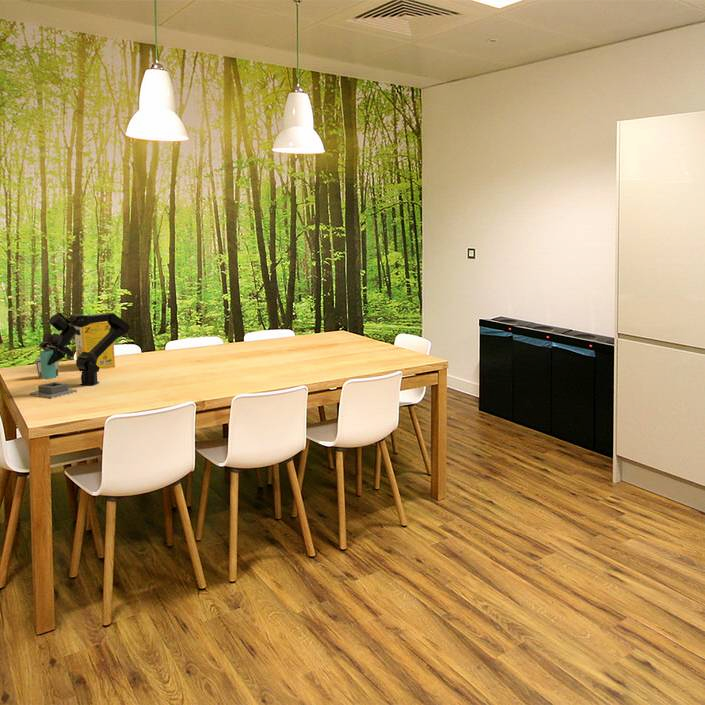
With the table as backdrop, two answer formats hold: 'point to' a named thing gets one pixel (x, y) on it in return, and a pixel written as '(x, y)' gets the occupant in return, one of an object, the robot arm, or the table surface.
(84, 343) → the packaging box
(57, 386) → the socket
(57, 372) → the food container
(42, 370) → the plug
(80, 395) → the table surface
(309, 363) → the table surface
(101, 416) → the table surface
